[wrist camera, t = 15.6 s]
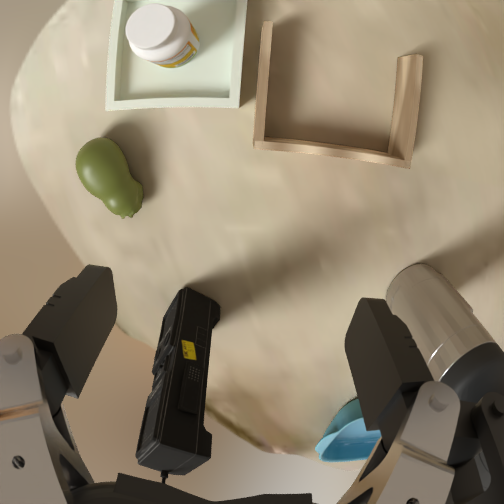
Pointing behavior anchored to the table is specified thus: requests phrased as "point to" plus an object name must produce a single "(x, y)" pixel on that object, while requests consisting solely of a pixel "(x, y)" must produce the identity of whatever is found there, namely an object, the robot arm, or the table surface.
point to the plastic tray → (185, 77)
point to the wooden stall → (396, 155)
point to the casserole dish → (347, 436)
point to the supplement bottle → (162, 35)
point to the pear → (109, 177)
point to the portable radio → (179, 388)
